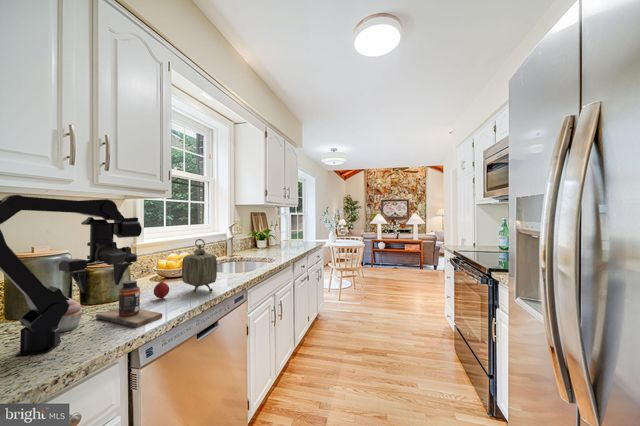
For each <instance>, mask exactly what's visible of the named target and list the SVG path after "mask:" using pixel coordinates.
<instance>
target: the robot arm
mask: <svg viewBox="0 0 640 426" xmlns="http://www.w3.org/2000/svg"><path fill="white" fill-rule="evenodd" d="M21 211H31V212H33V211H34V212H52V213H53V212H54V213H71V214H74V213H75V214H78V215H83V216H87V218H86V219H84V221H81V223H80V224H81V225H84V226H90V227H89V230H90V231H89V241H88V242H87V244H86V245H87V246H88V247H89V255H86V259H81V258H73V259H72V258H71V259H62V260H61V261H60V262H59V264H58V271H62V272H64V274H69V275H70V276H71V278H72V279H73V280H74V282H75V283H76V285H77V287H78V288H79V290H80V292H81V293H82V294H85V293H86V289H87V281H86V279H87V278H86V277H87V274H88V272H89V271H88V269H87V270H86V268H88V267H92V266H99V265H104V264H106V265H107V266H113V267H112V268H113V279H114V285H115V286H119V284H120V283H121V281H122V278H123V275H124V273H125V272H126V269H127V268H129V267H130V266H131V265H134V263H135V262H138V256H137V255H136V253H133V252H132V248H131V247H130V246H123V247H121V248H119V247H118V245H117V242H116V241H114V236H116V237H117V238H119V239H123V238H124V239H125V238H139V237H140V236H141V234H142V231H143V229H142V228H143V227H142V225H141V223H140V221H139V217H125V216H124V215H123V214H122V212H120V211H119V209H118V205H117V204H116V202H115V201H114V200H112V199H109V198H108V199H107V198H103V199H102V198H101V199H84V200H78V199H77V200H76V199H62V198H50V197H37V196H25V195H20V194H12V195H11V194H10V195H7V196H4V197H3V198H2V199H0V225H2V224H3V223H5V222H7V221H8V220H9V219H10V218H12V217H14V216H15V215H16V214H17V213H20V212H21ZM95 218H97V219H95ZM98 218H101V219H98ZM108 221H113V222H108ZM0 271H1V272H2V274H3V275H5V277H7V279H8V280H10V281H11V283H12V284H13V285H14V286H15V287H16V288H17V289H18V290H19V291H20V292H21V293H22V294H23V296H24V298H25V302H26V304H27V306H28V307H29V308H30V309H29V310H28V311H27V312H26V313H24V314H23V315H22V316H21V317H19V319H18V321H19V323H20V325H21V326H22V327H23V328H22V329H20V334H19V335H20V336H19V337H20V341H19V343H20V344H19V346H20V347H19V351H18V352H17V353H15V355H14V356H15V357H22V356H23V357H24V356H30V355H37V354H46V353H49V352H51V351H52V350H53V349H54V348H55V347H57V346H58V345H59V344H60V343H62V340H61V332H60V328H58V325H59V322H60V320H61V318H62V316H63V315H65V314H66V312H67V311H68V308H69V303H68V302H67V301H66V300H69V298H70V297H66V296H65V295H64V293H63V292H62V290H61V288H59V287H56V286H53V285H49V286H48V287H46V286H45V285H44V284H43V283H42V282H41V280H40V279H39V278H38V277H37V276H36V275H35V274H34V273H33V272H32V271H31V270H30V268H28V266H27V265H26V264H25V263H24V261H22V260H21V259H20V257H18V255H17V254H16V253H15V252H14V251H13V250H12V249H11V247H10V246H8V244H7V242H6V239H5V236H4V233H3V231H2V230H1V229H0Z"/></svg>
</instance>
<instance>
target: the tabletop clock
mask: <svg viewBox="0 0 640 426" xmlns="http://www.w3.org/2000/svg"><path fill="white" fill-rule="evenodd" d="M199 241H201V242H202V243H203V246H202V245H201V244H197V242H199ZM194 242H195V243H194V244H195V247H197V248H196V249H195V250H194V252H193V253H192V254H187V255H185V256H184V257H183V258H182V262H181V263H182V265H181V279H182V282H183V283H184V284H187V285H189V286H192V287H194V289H193V290H192V292H193V293H194V294H196V293H197V291H198V290H197V289H198V288H200V287H201V286H205V287H207V288H208V291H209V292H210V293H212V292H213V291H214V290H213V288H211V287H210V284H215V283H216V281H217V277H218V262H217V257H216V255H215V254H213V253H210V252H206V250H205V249H204V247H205V246H206V242H205V240H204V239H201V238H198V239H196V240H195V241H194Z"/></svg>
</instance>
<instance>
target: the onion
mask: <svg viewBox="0 0 640 426" xmlns="http://www.w3.org/2000/svg"><path fill="white" fill-rule="evenodd" d="M169 293H170V287H169V285H168V284H167V283H166V282H165V280H162V279H161V280H160V281H159V283H157V284H155V287H154V289H153V296H155V297H156V298H158V299H160V300H163V299H164V298H165V297H166V296H168V294H169Z"/></svg>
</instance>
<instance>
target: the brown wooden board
mask: <svg viewBox="0 0 640 426" xmlns="http://www.w3.org/2000/svg"><path fill="white" fill-rule="evenodd" d="M94 317H95V318H96V319H99V320H104V321H108V322H112V323H115V324H121V325H124V326H129V327H133V328H139V327H142V326H143V325H144V326H145V325H147V324H149V323H151V322H154V321H157V320H160V319H162V318H163V313H161V312H157V311H152V310H146V309H143V308H142V309H141V308H140V309H139V312H138V313H137V314H135V315H131V316H120V315H119V307H116V308H113V309H110V310H107V311H106V310H105V311H103V312H100V313H96V314H95V315H94Z"/></svg>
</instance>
